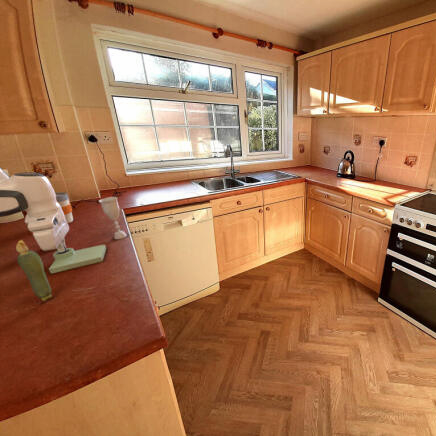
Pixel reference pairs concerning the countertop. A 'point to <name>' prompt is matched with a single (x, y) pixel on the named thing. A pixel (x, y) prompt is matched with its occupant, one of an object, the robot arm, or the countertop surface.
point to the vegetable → (34, 271)
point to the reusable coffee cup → (65, 205)
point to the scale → (77, 258)
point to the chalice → (112, 213)
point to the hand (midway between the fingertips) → (62, 250)
